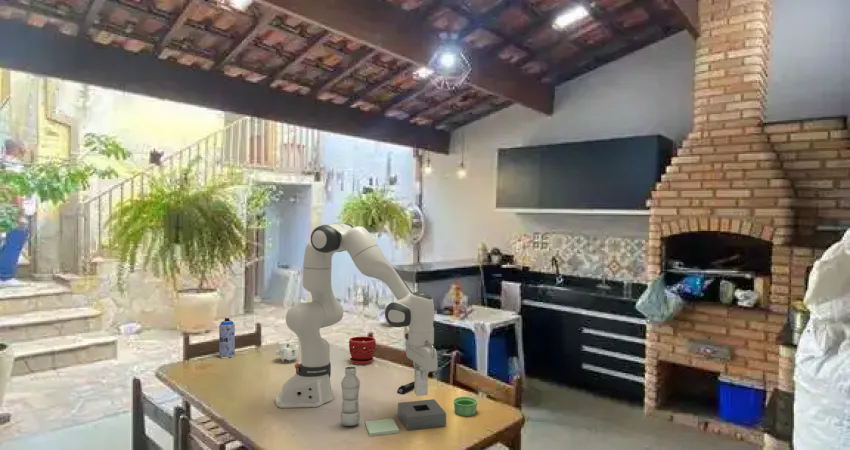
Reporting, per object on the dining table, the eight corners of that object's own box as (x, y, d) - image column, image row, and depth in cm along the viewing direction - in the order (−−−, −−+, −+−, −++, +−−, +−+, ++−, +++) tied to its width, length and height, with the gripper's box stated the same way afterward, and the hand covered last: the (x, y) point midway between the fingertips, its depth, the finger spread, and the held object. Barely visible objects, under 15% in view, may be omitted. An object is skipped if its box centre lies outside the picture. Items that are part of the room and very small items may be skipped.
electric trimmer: (426, 386, 218) (426, 378, 218) (403, 395, 206) (403, 387, 206) (419, 384, 220) (419, 377, 220) (396, 393, 208) (396, 385, 208)
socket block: (407, 430, 171) (407, 417, 171) (397, 415, 185) (397, 402, 185) (446, 426, 175) (446, 413, 175) (434, 411, 189) (434, 399, 189)
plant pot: (373, 366, 245) (374, 341, 245) (347, 366, 245) (347, 341, 245) (376, 358, 258) (377, 335, 258) (351, 358, 258) (351, 335, 258)
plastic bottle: (341, 421, 179) (341, 365, 178) (360, 420, 179) (360, 365, 179) (339, 429, 172) (339, 371, 172) (359, 428, 173) (359, 370, 173)
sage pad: (369, 436, 167) (369, 433, 167) (364, 424, 176) (364, 421, 176) (399, 432, 170) (399, 429, 169) (392, 421, 179) (392, 418, 179)
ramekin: (470, 419, 182) (470, 407, 182) (449, 413, 186) (449, 402, 186) (481, 410, 189) (481, 399, 189) (460, 406, 194) (460, 394, 194)
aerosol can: (215, 358, 258) (215, 319, 257) (224, 353, 265) (224, 316, 265) (229, 358, 256) (229, 319, 256) (238, 354, 264) (238, 316, 264)
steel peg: (416, 395, 178) (416, 370, 177) (414, 392, 182) (414, 367, 181) (427, 395, 178) (427, 370, 178) (425, 391, 182) (425, 366, 182)
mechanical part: (291, 356, 261) (291, 333, 261) (303, 361, 252) (303, 338, 252) (271, 360, 254) (271, 337, 253) (282, 365, 245) (282, 341, 244)
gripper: (442, 344, 171) (441, 384, 172) (418, 331, 190) (417, 367, 190) (425, 346, 169) (425, 387, 169) (402, 332, 187) (402, 369, 188)
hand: (421, 376), depth 180 cm, fingers closed on steel peg, 4 cm apart
